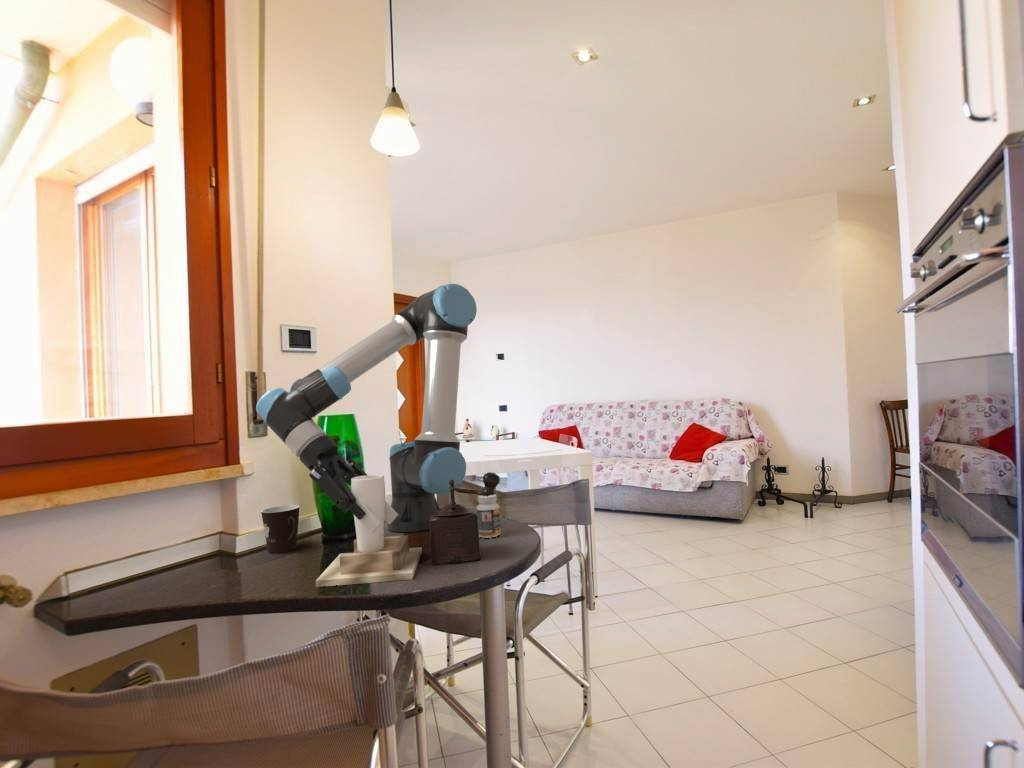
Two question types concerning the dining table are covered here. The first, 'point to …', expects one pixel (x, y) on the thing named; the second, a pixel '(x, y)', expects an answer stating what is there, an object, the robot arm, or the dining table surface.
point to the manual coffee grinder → (458, 527)
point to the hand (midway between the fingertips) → (385, 523)
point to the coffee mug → (281, 528)
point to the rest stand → (373, 564)
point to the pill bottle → (488, 516)
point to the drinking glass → (373, 498)
